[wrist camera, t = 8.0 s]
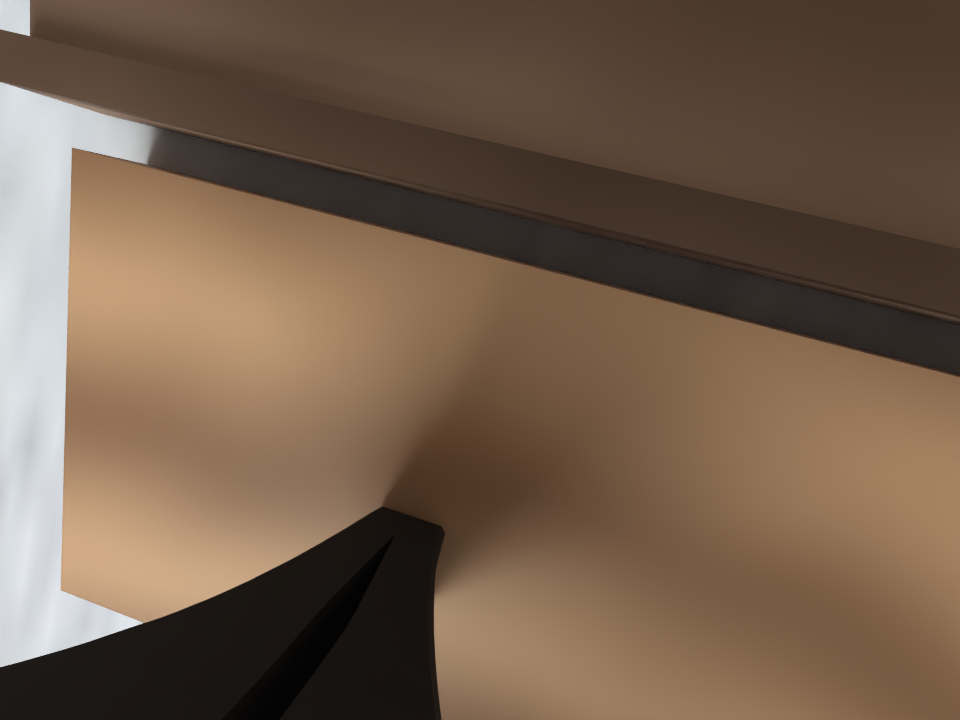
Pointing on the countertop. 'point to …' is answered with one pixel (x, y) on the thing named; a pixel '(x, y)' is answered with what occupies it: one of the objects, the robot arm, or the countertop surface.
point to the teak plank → (507, 461)
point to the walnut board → (575, 115)
